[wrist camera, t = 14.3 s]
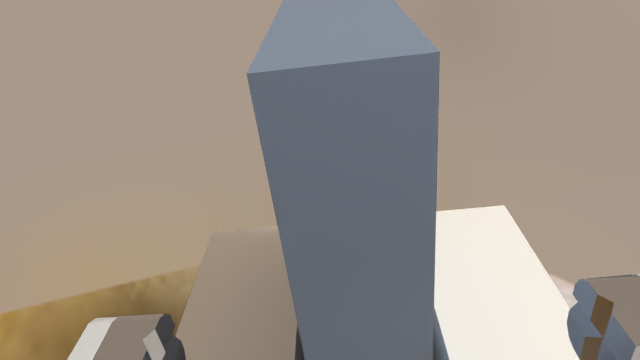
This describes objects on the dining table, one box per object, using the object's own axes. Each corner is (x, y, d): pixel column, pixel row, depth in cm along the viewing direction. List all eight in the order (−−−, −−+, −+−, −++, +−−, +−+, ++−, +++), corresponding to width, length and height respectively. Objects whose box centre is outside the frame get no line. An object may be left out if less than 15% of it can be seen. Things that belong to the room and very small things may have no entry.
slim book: (339, 533, 15) (246, 73, 7) (334, 324, 23) (286, -8, 15) (428, 529, 15) (439, 51, 7) (392, 319, 23) (377, -19, 14)
